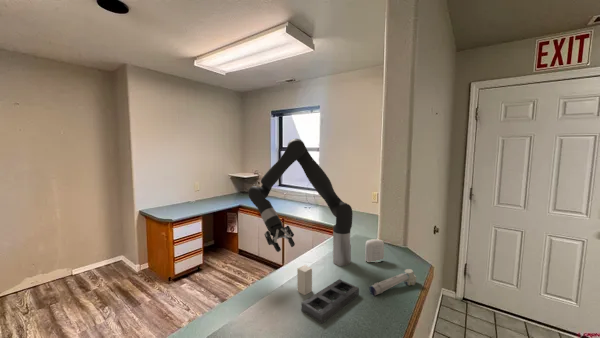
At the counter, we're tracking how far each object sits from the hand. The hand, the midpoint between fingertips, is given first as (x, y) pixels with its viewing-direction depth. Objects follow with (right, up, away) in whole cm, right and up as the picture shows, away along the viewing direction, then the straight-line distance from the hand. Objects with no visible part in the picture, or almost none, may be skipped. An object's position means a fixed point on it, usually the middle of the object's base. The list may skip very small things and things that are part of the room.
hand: (286, 248), depth 109 cm
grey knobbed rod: (+48, -16, -5) cm, 51 cm away
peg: (+8, -16, -8) cm, 19 cm away
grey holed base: (+19, -16, -15) cm, 29 cm away
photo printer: (+47, -15, +21) cm, 54 cm away
